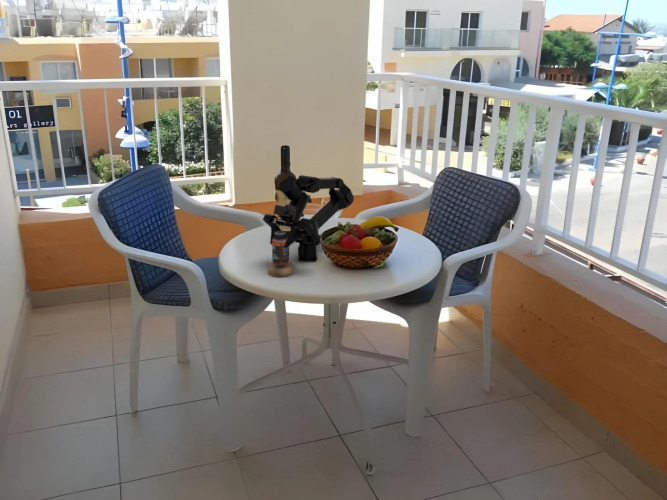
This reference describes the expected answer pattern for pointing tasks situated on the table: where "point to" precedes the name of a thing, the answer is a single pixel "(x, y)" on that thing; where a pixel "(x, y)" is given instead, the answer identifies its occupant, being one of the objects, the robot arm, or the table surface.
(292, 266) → the walnut stand
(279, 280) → the table surface
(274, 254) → the supplement bottle
